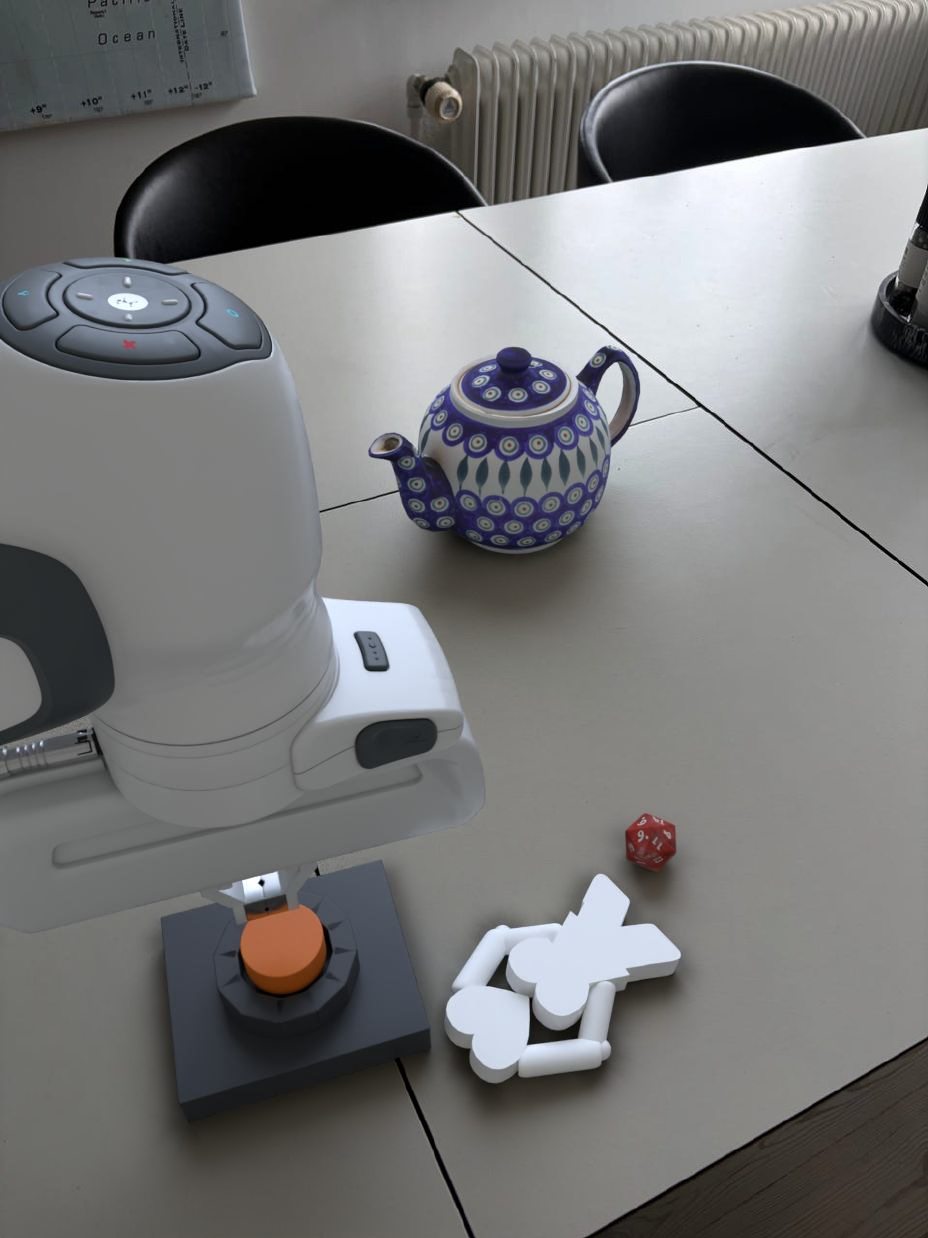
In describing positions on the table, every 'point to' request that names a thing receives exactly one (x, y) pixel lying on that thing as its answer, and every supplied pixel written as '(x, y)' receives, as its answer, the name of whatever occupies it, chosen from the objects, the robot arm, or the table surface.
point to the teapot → (512, 450)
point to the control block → (290, 998)
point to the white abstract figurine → (553, 987)
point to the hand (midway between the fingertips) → (266, 903)
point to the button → (284, 950)
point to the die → (650, 842)
